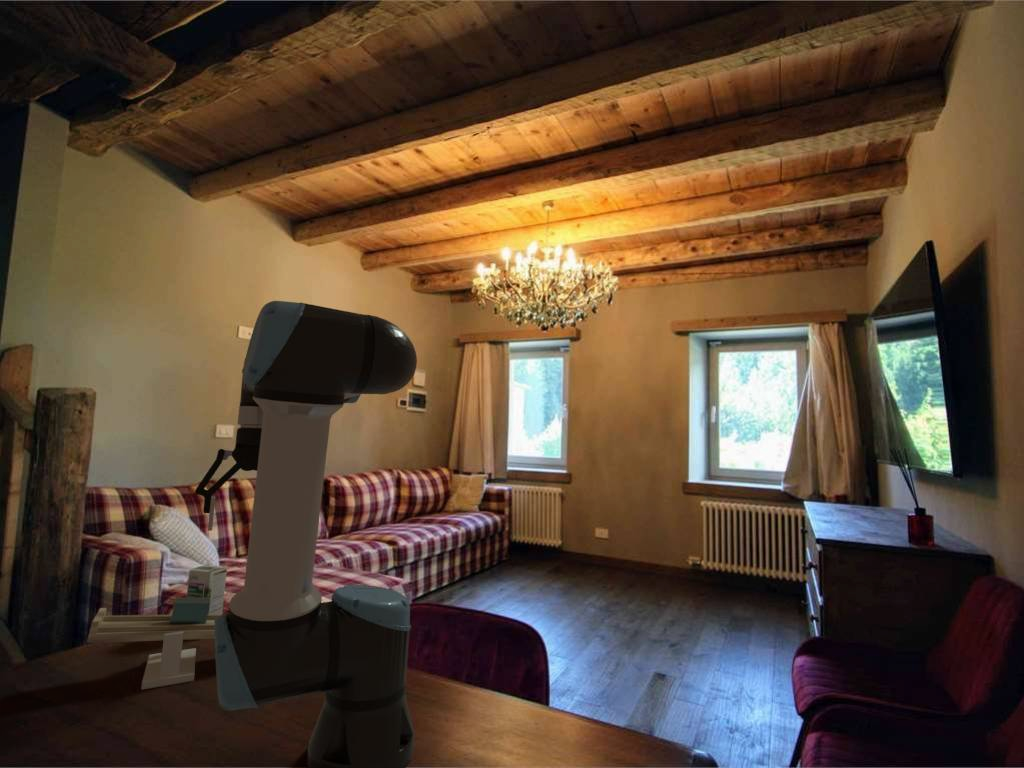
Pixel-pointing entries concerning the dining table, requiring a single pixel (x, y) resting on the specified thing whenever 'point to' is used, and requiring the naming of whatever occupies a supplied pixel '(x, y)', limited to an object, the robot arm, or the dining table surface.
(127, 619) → the balance beam
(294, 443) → the robot arm
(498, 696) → the dining table surface
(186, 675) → the pivot stand
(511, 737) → the dining table surface
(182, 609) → the rider
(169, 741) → the dining table surface
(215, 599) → the syrup box
